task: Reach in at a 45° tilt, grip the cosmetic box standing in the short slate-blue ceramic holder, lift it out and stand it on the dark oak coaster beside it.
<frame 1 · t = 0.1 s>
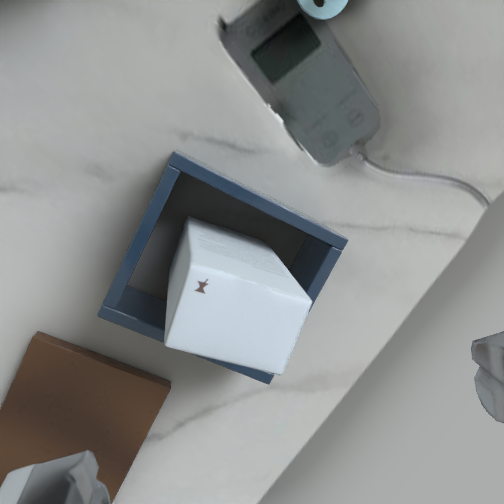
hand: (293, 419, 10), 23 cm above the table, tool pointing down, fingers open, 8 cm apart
cosmetic box: (219, 256, 33), resting in holder
holder: (219, 256, 32), on the table
coaster: (73, 425, 34), on the table
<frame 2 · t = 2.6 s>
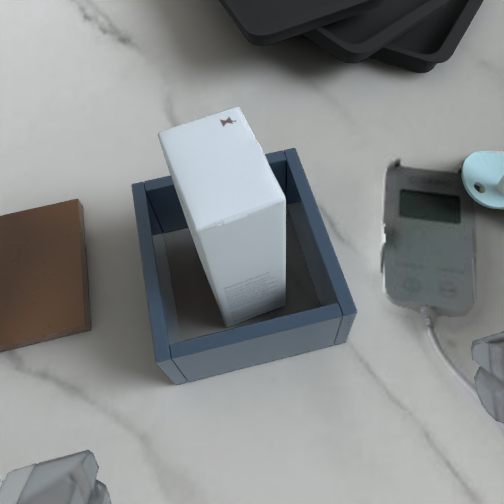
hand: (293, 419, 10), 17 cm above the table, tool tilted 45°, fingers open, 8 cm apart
cosmetic box: (240, 281, 31), resting in holder
holder: (240, 280, 31), on the table
tray: (313, 12, 44), on the table
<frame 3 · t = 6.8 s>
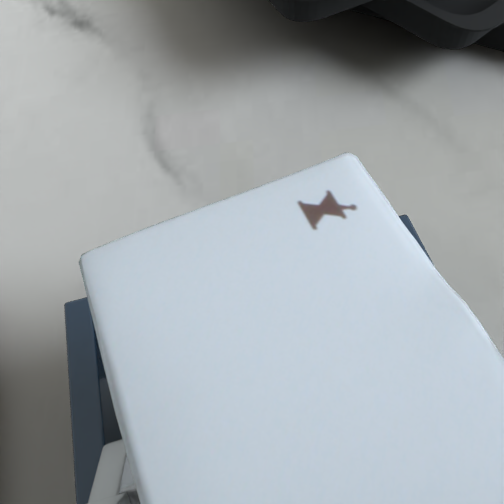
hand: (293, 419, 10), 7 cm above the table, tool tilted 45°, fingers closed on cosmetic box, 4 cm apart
cosmetic box: (295, 477, 15), resting in holder, touching gripper
holder: (295, 477, 15), on the table
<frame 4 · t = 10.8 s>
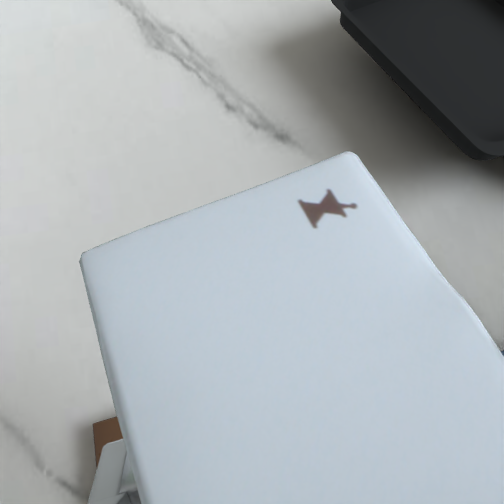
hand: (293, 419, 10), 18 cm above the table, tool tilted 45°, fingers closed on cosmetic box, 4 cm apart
cosmetic box: (295, 477, 15), point 11 cm above the table, touching gripper
coaster: (215, 487, 25), on the table
tray: (495, 98, 38), on the table
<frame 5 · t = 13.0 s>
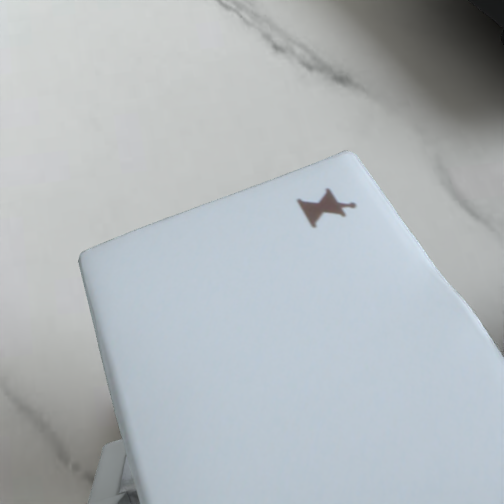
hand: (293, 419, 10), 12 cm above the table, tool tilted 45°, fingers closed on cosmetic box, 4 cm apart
cosmetic box: (294, 477, 15), point 5 cm above the table, touching gripper
when the fingers open (8 cm above the table, at t = 14.7 s): cosmetic box stays where it is, resting on coaster.
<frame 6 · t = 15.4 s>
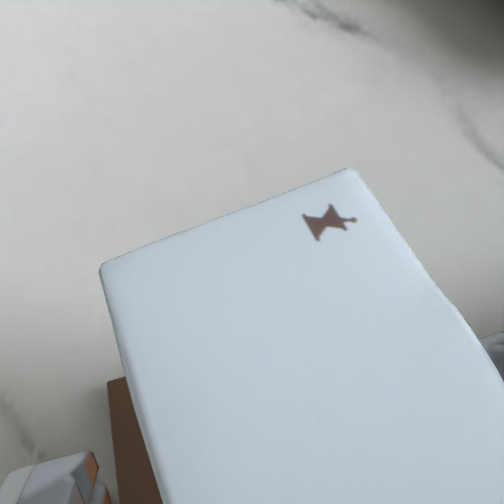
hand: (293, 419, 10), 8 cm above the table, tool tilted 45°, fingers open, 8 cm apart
cosmetic box: (296, 475, 16), point 1 cm above the table, touching coaster
coaster: (295, 477, 17), on the table
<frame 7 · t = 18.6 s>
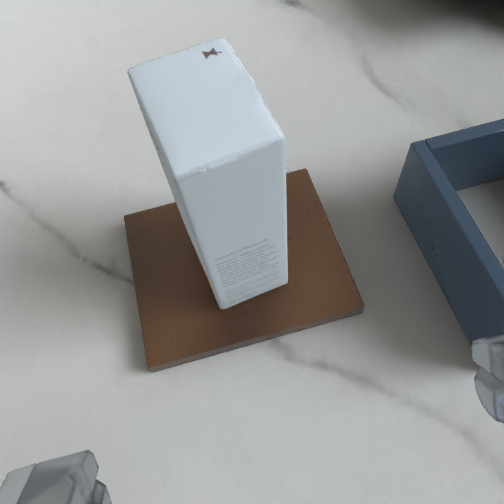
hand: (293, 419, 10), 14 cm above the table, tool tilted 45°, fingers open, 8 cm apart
cosmetic box: (236, 258, 27), point 1 cm above the table, touching coaster
coaster: (236, 265, 28), on the table
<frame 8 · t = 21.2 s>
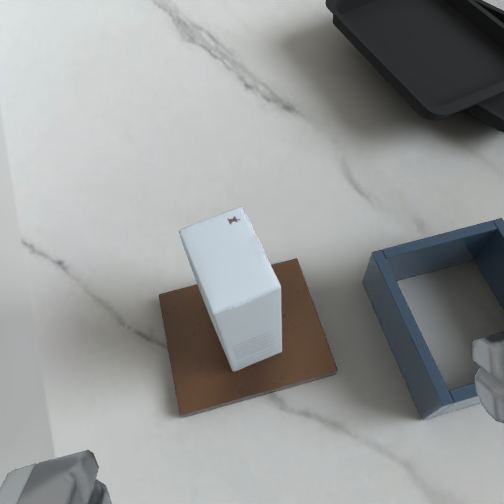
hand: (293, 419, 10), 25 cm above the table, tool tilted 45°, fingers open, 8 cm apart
cosmetic box: (243, 330, 36), point 1 cm above the table, touching coaster
holder: (452, 327, 36), on the table
coaster: (244, 334, 37), on the table
tray: (450, 80, 50), on the table
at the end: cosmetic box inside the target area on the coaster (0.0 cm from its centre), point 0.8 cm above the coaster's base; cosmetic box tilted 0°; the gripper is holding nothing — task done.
